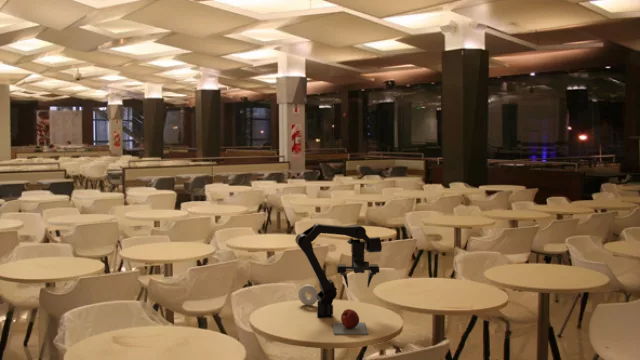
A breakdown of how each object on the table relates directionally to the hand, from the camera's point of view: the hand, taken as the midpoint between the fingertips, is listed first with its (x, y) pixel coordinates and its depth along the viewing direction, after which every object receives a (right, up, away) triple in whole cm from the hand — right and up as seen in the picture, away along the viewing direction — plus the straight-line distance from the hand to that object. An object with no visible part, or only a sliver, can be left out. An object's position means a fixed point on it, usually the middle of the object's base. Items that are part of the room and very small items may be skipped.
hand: (357, 287), depth 306 cm
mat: (-4, -14, -21) cm, 26 cm away
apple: (-4, -14, -21) cm, 26 cm away
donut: (-22, -11, +14) cm, 28 cm away
